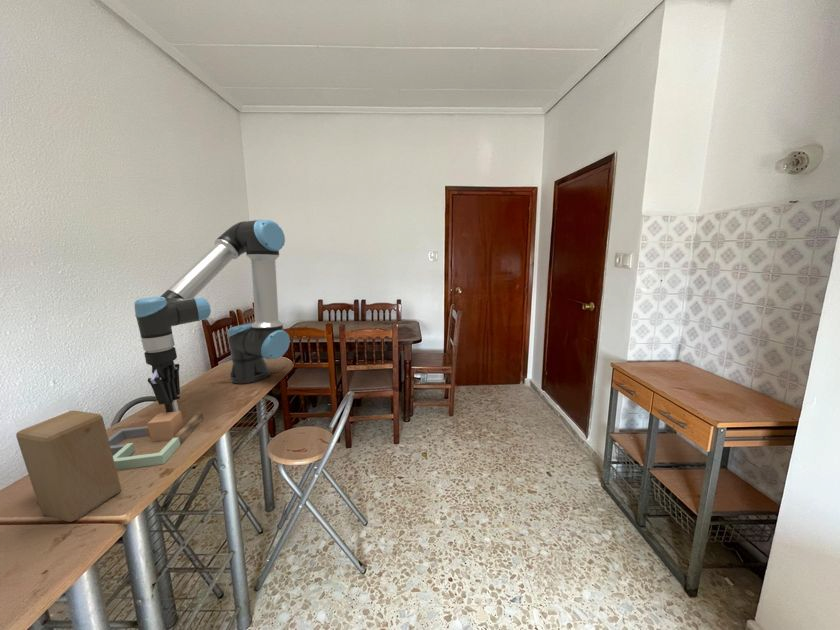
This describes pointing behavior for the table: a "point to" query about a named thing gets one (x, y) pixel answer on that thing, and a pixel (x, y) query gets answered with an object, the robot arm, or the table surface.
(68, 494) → the wooden block
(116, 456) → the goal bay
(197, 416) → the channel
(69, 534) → the table surface
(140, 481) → the table surface
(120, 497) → the table surface
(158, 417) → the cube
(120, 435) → the trap bay
